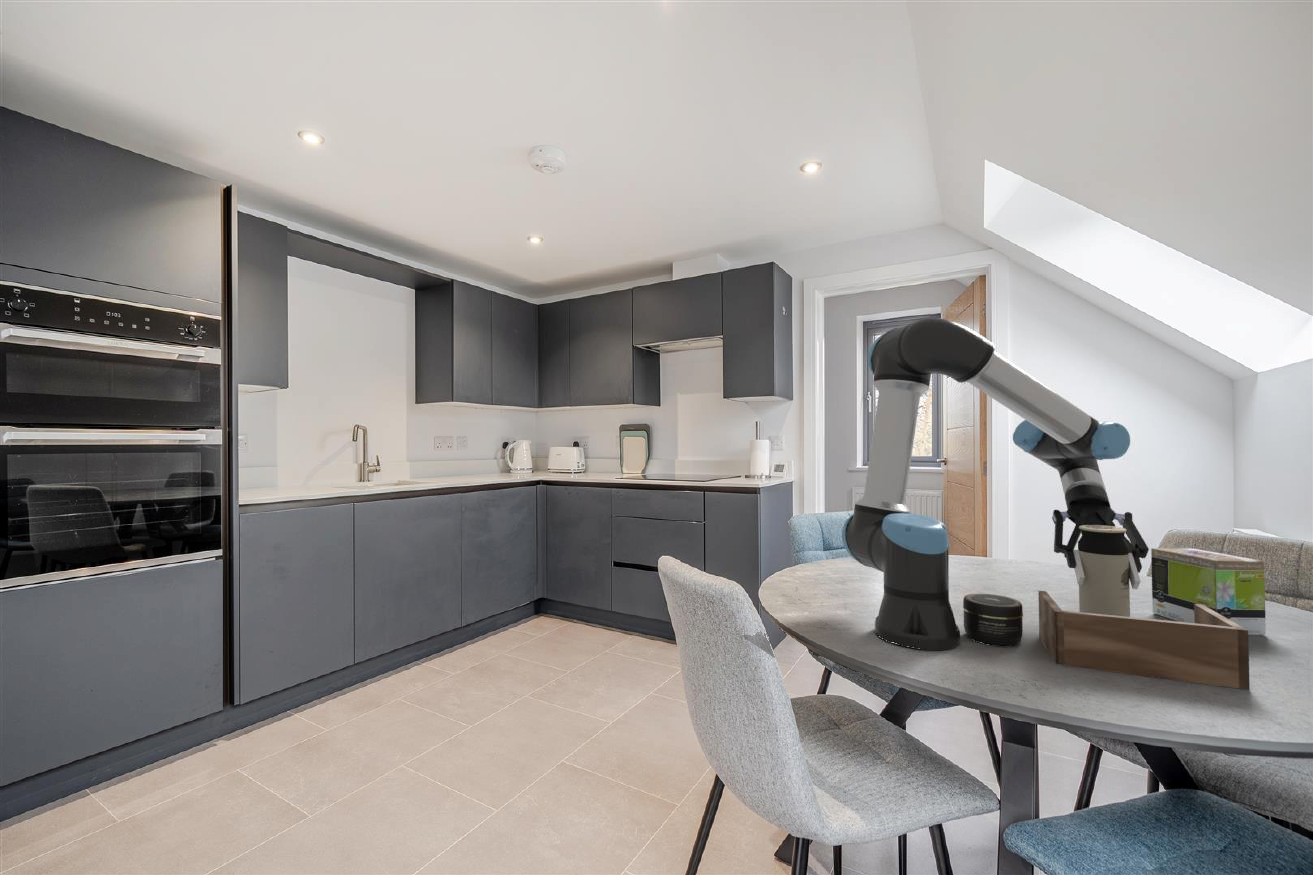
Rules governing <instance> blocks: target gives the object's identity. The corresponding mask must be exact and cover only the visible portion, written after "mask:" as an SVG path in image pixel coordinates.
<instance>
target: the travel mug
mask: <svg viewBox="0 0 1313 875" xmlns="http://www.w3.org/2000/svg"><path fill="white" fill-rule="evenodd" d="M1079 528H1080V529H1081V535H1080V537H1079V539H1078V541H1077V550H1078V551H1079V555H1080V559H1081V563H1082V568H1083V572H1084V576H1085V578H1084V582H1083V585H1078V601H1079V602H1078V604H1079V605H1078V606H1079V608H1078V609H1079V611H1078V612H1084V613H1094V614H1104V615H1114V616H1125V617H1131V598H1130V597H1131V596H1130V595H1131V594H1130V579H1129V547H1128V545H1127V543H1126V541H1125V540H1124V536H1125V535H1126V533H1125V532H1126V531H1127V530H1126V529H1124V528H1123V527H1119V526H1115V527H1114V526H1103V525H1082V526H1079Z"/></svg>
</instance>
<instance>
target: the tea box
mask: <svg viewBox="0 0 1313 875" xmlns="http://www.w3.org/2000/svg"><path fill="white" fill-rule="evenodd" d="M1150 554H1151V563H1150V564H1151V595H1152V596H1151V597H1152V598H1151V600H1152V601H1151V602H1152V613H1153V614H1155V615H1157V616H1161V617H1164V618H1167V619H1169V620H1171V621H1176V622H1186V623H1195V621H1194V604H1200V605H1204V606H1206V607H1208V608H1210V609H1211V610H1213V611H1215V612H1217V613H1218V614H1220V615H1222V616H1224V617H1225V618H1227V619H1229V620H1231V621H1232V622H1234V623H1236V624H1238V625H1239V626H1241V627H1243V628H1245V629H1247V630H1248V636H1265V635H1266V624H1267V623H1266V619H1267V618H1266V591H1265V588H1266V586H1265V585H1266V584H1265V562H1264V560H1261V559H1256V558H1248V557H1244V556H1239V555H1237V556H1236V555H1233V554H1228V553H1227V554H1226V553H1221V552H1216V551H1210V550H1204V549H1198V548H1188V547H1186V548H1185V547H1184V548H1178V547H1176V548H1174V547H1173V548H1172V547H1170V548H1169V547H1166V548H1163V547H1158V548H1157V547H1154V548H1151V553H1150Z"/></svg>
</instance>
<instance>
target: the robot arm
mask: <svg viewBox="0 0 1313 875" xmlns="http://www.w3.org/2000/svg"><path fill="white" fill-rule="evenodd" d="M867 363H868V367H869V368H868V369H869V370H871V374H872V375H873V382H872V385H873V387H875V389H876V390H877V391H878V396H877V397H878V398H877V404H876V411H875V417H874V424H873V431H872V435H871V436H872V437H871V443H870V452H869V458H868V464H867V471H866V477H865V484H864V485H865V486H864V491H863V496H862V497H861V498H860V499H858V500H857V501H856V502H854V503H855V504H854V509H853V514H851V515H850V517H849V518H847V519H846V520H845V522H844V523H843V526H842V528H841V530H842V531H841V541H842V544H843V547H844V550H845V551H846V553H848V555H849V556H850V557H851V558H852V559H854V560H855V561H857V562H858V563H860V564H862V565H863V566H864V567H868V568H871V569H874V570H877V571H879V572H882V573H883V597H882V599H881V603H880V606H879V610H878V615H877V616H876V618H875V620H874V633H875V632H876V633H877V635H878V636H880V637H881V638H883V639H885V640H887V641H889V642H888V643H890V642H894V643H897V644H899V645H903V646H902V647H904V646H909V647H914V648H913V649H915V648H920V649H919V650H924V649H929V651H941V650H942V651H943V650H950V649H953V648H956V647H958V646H960V643H961V632H960V628H959V626H958V625H957V623H956V619H955V616H954V615H955V614H954V612H953V608H952V606H951V602H950V592H949V591H950V590H949V589H950V588H949V587H950V586H949V585H950V580H949V579H950V576H949V575H950V574H949V573H950V572H949V569H950V568H949V564H950V562H949V560H950V559H949V558H950V557H949V548H950V540H949V535H948V528H947V526H946V525H945V523H943V522H942V521H941V520H939V519H936V518H934V517H931V516H928V515H927V516H926V515H919V514H916V513H912V511H911V510H910V509H909V507H908V506H907V505H906V498H907V497H906V496H907V489H908V482H909V476H910V469H911V461H912V456H913V448H914V441H915V434H916V428H917V423H918V422H917V420H918V413H919V406H920V401H921V396H922V395H923V394H925V393H926V392H927V391H929V390H930V383H931V378H932V375H934V374H936V375H937V374H938V375H943V376H947V377H949V378H951V379H953V381H956V382H957V383H961V384H963V383H964V384H965V383H969V384H970V385H972V386H973V387H975V388H976V389H978V390H979V391H981V392H982V393H984V394H985V395H987V396H989V397H990V398H992V399H993V400H995V401H996V402H997V403H999V404H1001V405H1002V406H1004V407H1006V408H1007V409H1008V410H1009V411H1011V412H1012V413H1014V414H1016V415H1018V416H1019V417H1020V418H1022V419H1024V420H1023V421H1021V422H1020V423H1019V424H1018V425H1017V426H1016V427H1015V429H1014V431H1013V433H1012V441H1013V443H1014V444H1015V446H1017V447H1018V448H1020V449H1021V450H1022V451H1023V452H1024V453H1027V454H1029V455H1031V456H1033V457H1034V458H1037V460H1040V461H1042V462H1043V463H1044V464H1046V465H1048V466H1050V467H1051V468H1053V469H1055V470H1057V473H1058V474H1059V478H1060V482H1061V486H1062V491H1063V494H1064V499H1065V505H1066V509H1067V510H1066V511H1060V510H1059V509H1054V510H1053V511H1052V517H1051V519H1052V521H1053V524H1054V542H1053V543H1054V544H1053V552H1054V553H1056V554H1060V553H1061V554H1063V557H1064V558H1065V559H1066V562H1067V563H1066V564H1067V567H1068V568H1069V569H1074V574H1075V577H1076V583H1077V585H1078V586H1079V585H1083V582H1084V578H1085V576H1084V572H1083V568H1082V563H1081V559H1080V555H1079V551H1078V549H1075V548H1076V547H1077V546H1076V545H1078V541H1079V540H1080V538H1081V535H1082V533H1081V529H1080V528H1079V526H1082V525H1103V526H1114V527H1116V524H1115V522H1114V520H1116V521H1117V522H1118V523H1119V525H1120V526H1122V528H1124V529H1126V530H1127V531H1126V532H1125V535H1126V536H1127V537H1126V536H1125V535H1124V540H1125V541H1126V543H1127V545H1128V547H1129V583H1130V585H1131V589H1132V590H1138V589H1139V587H1140V584H1141V579H1140V576H1139V574H1140V573H1141V571H1142V568H1143V566H1142V562H1141V559H1146V557H1147V556H1148V553H1149V551H1150V550H1149V547H1148V545H1147V543H1146V542H1145V539H1144V538H1143V537H1142V535H1141V533H1140V532H1139V530H1138V528H1137V526H1136V525H1135V523H1134V521H1133V513H1131V512H1129V511H1126V512H1124V513H1118V512H1115V510H1113V509H1112V507H1111V503H1110V499H1109V497H1108V493H1107V491H1106V486H1105V483H1104V480H1103V477H1102V474H1101V471H1100V466H1099V463H1098V461H1104V460H1115V459H1119V458H1122V457H1123V456H1124V455H1125V454H1127V452H1128V450H1129V447H1130V446H1131V445H1130V444H1131V436H1130V433H1129V431H1128V429H1127V428H1126V427H1125V425H1123V424H1121V423H1118V422H1109V421H1103V422H1102V421H1099V420H1097V419H1096V418H1094V417H1093V416H1091V415H1090V414H1088V413H1086V412H1084V411H1083V410H1082V409H1080V408H1079V407H1077V406H1076V405H1074V404H1073V403H1071V402H1070V401H1069V400H1067V399H1066V398H1064V397H1062V396H1061V395H1060V394H1059V393H1057V392H1055V391H1054V390H1052V389H1050V387H1048V386H1047V385H1044V384H1043V383H1042V382H1041V381H1039V380H1038V379H1037V378H1035V377H1034V376H1032V375H1031V374H1029V373H1027V372H1026V371H1025V370H1023V369H1021V368H1020V367H1018V366H1017V365H1015V364H1014V363H1013V362H1011V361H1009V359H1006V358H1005V357H1004V356H1002V355H1001V354H999V353H998V352H996V349H995V344H994V343H993V342H991V341H990V340H988V338H985V337H984V336H982V335H980V334H979V333H977V332H976V331H974V330H972V329H970V328H969V327H967V326H965V325H962V324H961V323H958V322H955V321H952V320H949V319H946V318H941V317H925V318H921V319H918V320H916V321H914V322H911V323H908V324H906V325H902V326H901V327H896V328H892V329H889V330H888V331H886V332H885V333H883V334H881V335H880V336H879V337H877V338H876V339H875V340H874V341H873V343H872V345H871V346H870V349H869V350H868V354H867ZM1066 519H1068V520H1069V521H1071V522H1072V523H1074V524H1075V526H1074V527H1073V531H1072V533H1071V535H1070V536H1069V539H1068V542H1067V544H1064V543H1063V535H1064V522H1065V521H1066ZM1140 558H1141V559H1140ZM877 635H876V636H877ZM878 636H877V637H878ZM881 638H880V639H881ZM883 639H882V640H883ZM885 640H884V641H885ZM887 641H886V642H887ZM899 645H898V646H899ZM909 647H908V648H909Z"/></svg>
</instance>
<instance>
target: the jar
mask: <svg viewBox="0 0 1313 875" xmlns="http://www.w3.org/2000/svg"><path fill="white" fill-rule="evenodd" d="M962 609H963V628H964V631H965V635H966V636H967V637H968V638H969V639H970V638H971V639H970V640H972V639H973V640H972V641H974V640H975V641H974V642H976V641H977V642H976V643H979V642H982V643H984V645H986V644H989V645H988V646H992V645H993V647H1000V646H1006V647H1007V646H1011V647H1015V646H1018V645H1019V644H1020V643H1021V642H1022V638H1023V631H1024V630H1023V625H1024V624H1023V617H1024V612H1023V604H1022V602H1021V601H1019V600H1017V599H1015V598H1012V597H1009V596H1005V595H998V594H991V593H970V594H967V595H966V594H965V595H964V597H963V600H962ZM982 643H981V644H982Z"/></svg>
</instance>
